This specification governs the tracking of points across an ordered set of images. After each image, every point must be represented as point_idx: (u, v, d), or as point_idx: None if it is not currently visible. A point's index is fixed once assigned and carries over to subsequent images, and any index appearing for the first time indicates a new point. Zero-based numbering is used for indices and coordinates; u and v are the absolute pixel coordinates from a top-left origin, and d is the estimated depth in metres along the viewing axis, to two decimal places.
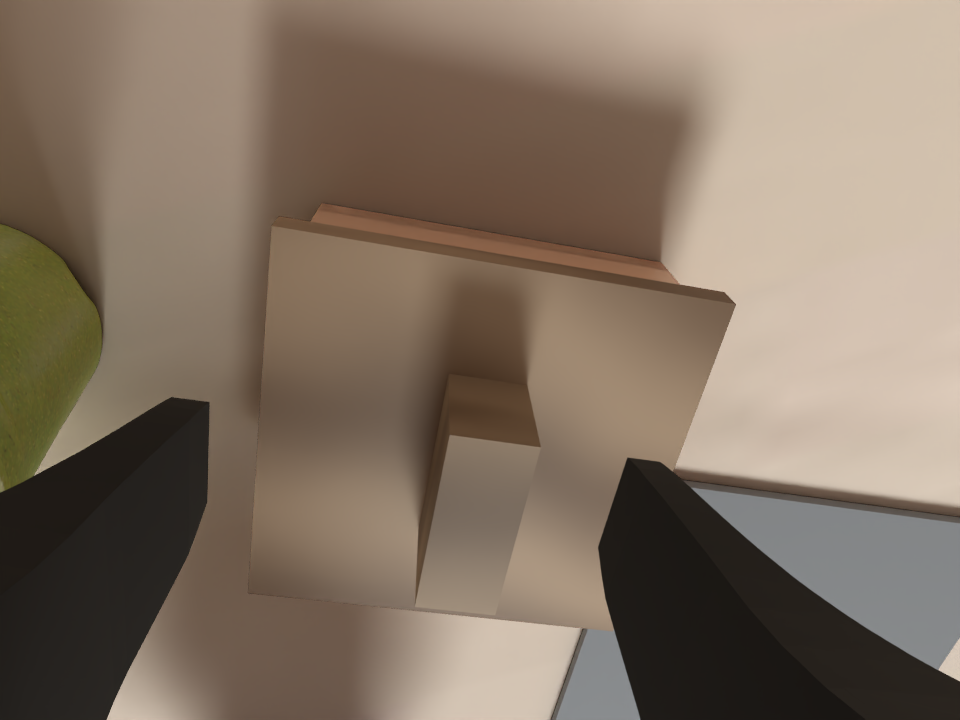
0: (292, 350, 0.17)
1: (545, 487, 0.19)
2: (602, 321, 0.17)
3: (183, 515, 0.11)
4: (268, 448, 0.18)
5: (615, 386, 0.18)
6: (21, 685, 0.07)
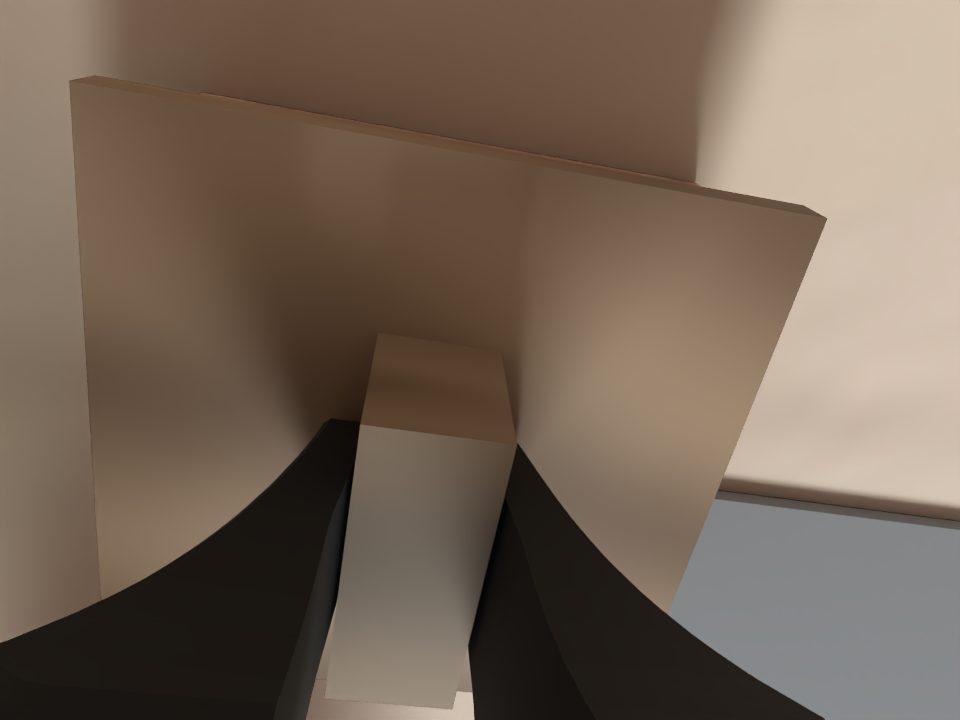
0: (128, 295, 0.11)
1: None
2: (617, 246, 0.11)
3: None
4: (109, 449, 0.12)
5: (636, 352, 0.12)
6: (294, 707, 0.07)
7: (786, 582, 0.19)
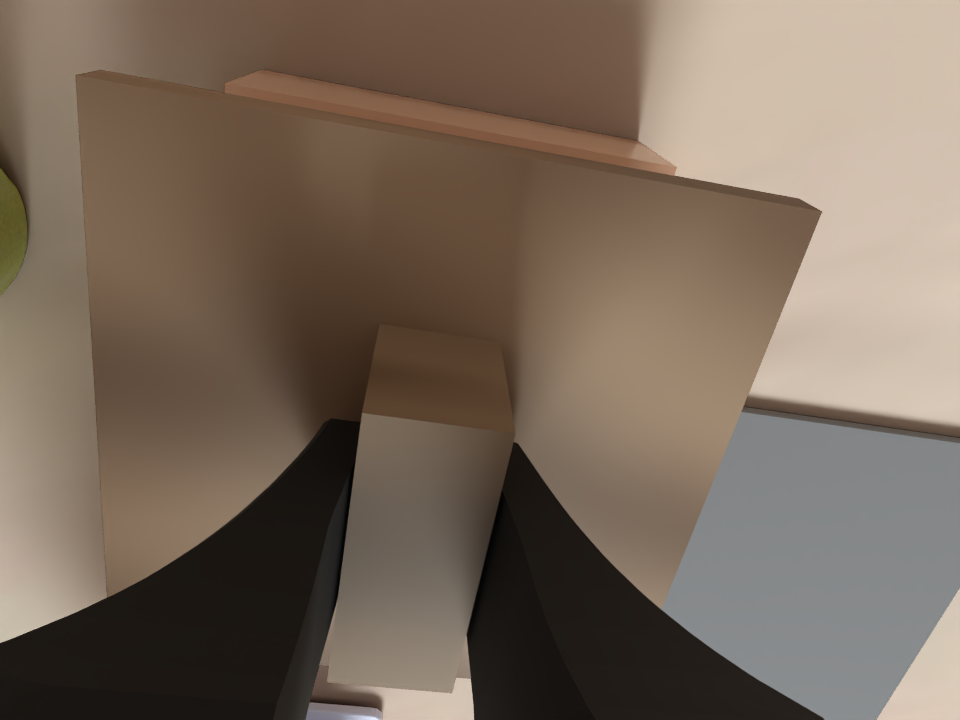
0: (133, 287, 0.11)
1: None
2: (615, 239, 0.11)
3: None
4: (114, 438, 0.12)
5: (633, 343, 0.12)
6: (294, 707, 0.07)
7: (723, 474, 0.24)
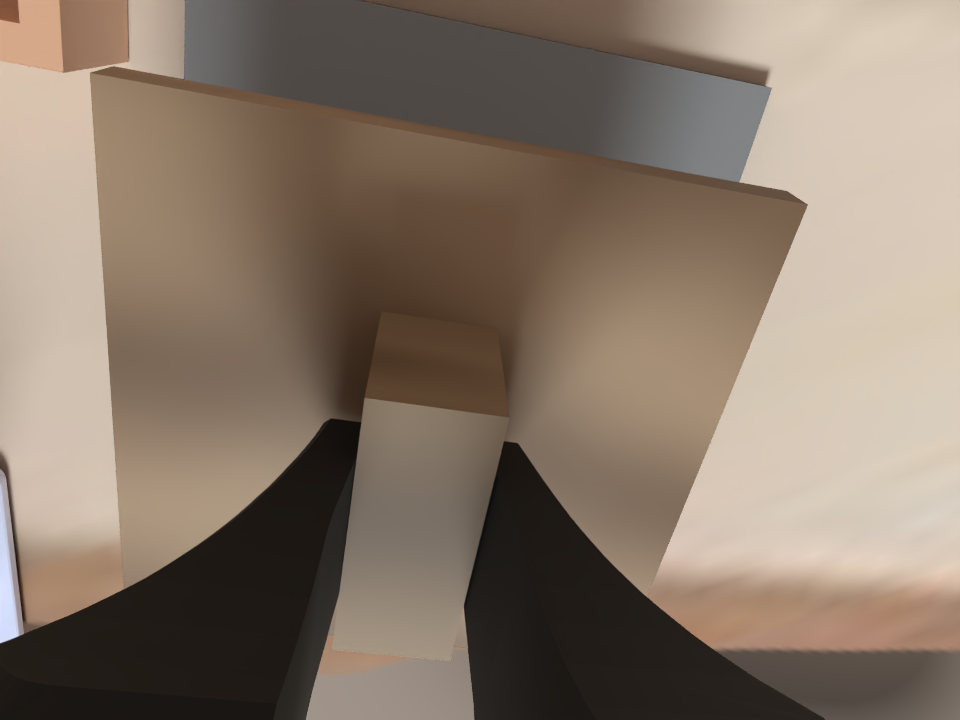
0: (146, 275, 0.12)
1: None
2: (608, 230, 0.12)
3: None
4: (129, 419, 0.13)
5: (625, 330, 0.12)
6: (294, 707, 0.07)
7: (354, 104, 0.18)
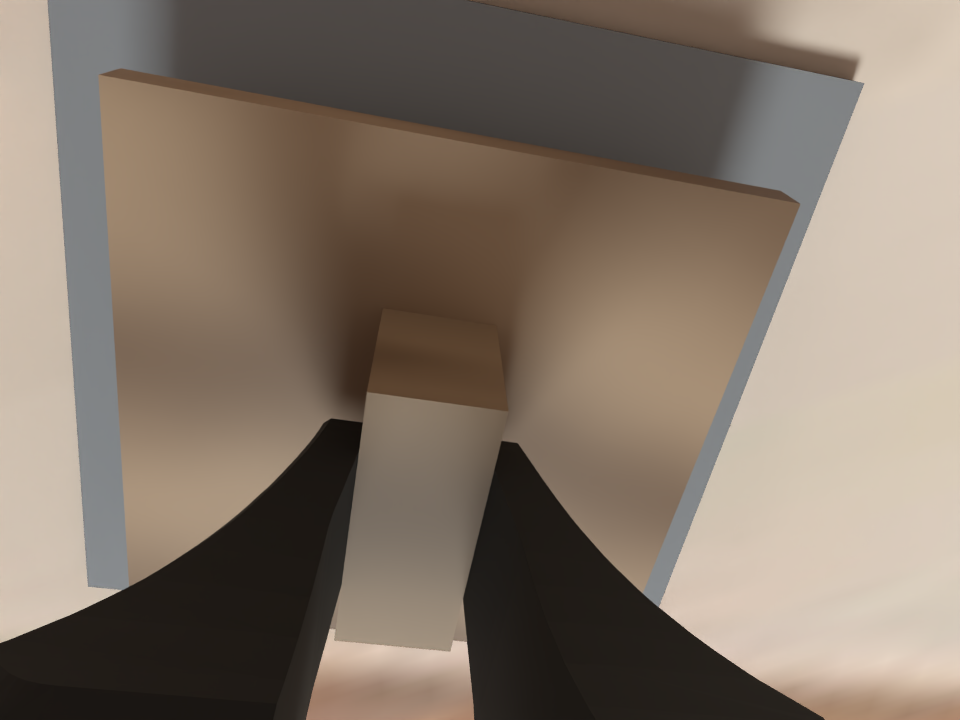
0: (152, 272, 0.12)
1: None
2: (605, 229, 0.12)
3: None
4: (134, 414, 0.13)
5: (622, 327, 0.13)
6: (294, 707, 0.07)
7: None
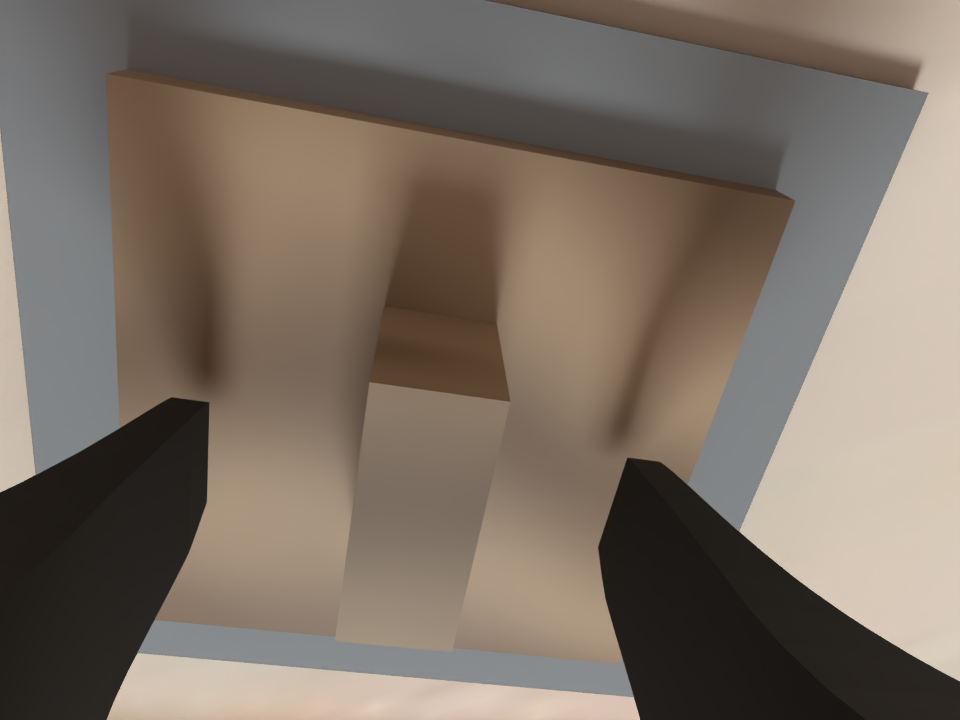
0: (155, 271, 0.12)
1: (525, 471, 0.14)
2: (604, 226, 0.12)
3: (183, 515, 0.11)
4: (135, 416, 0.13)
5: (621, 325, 0.13)
6: (21, 685, 0.07)
7: None
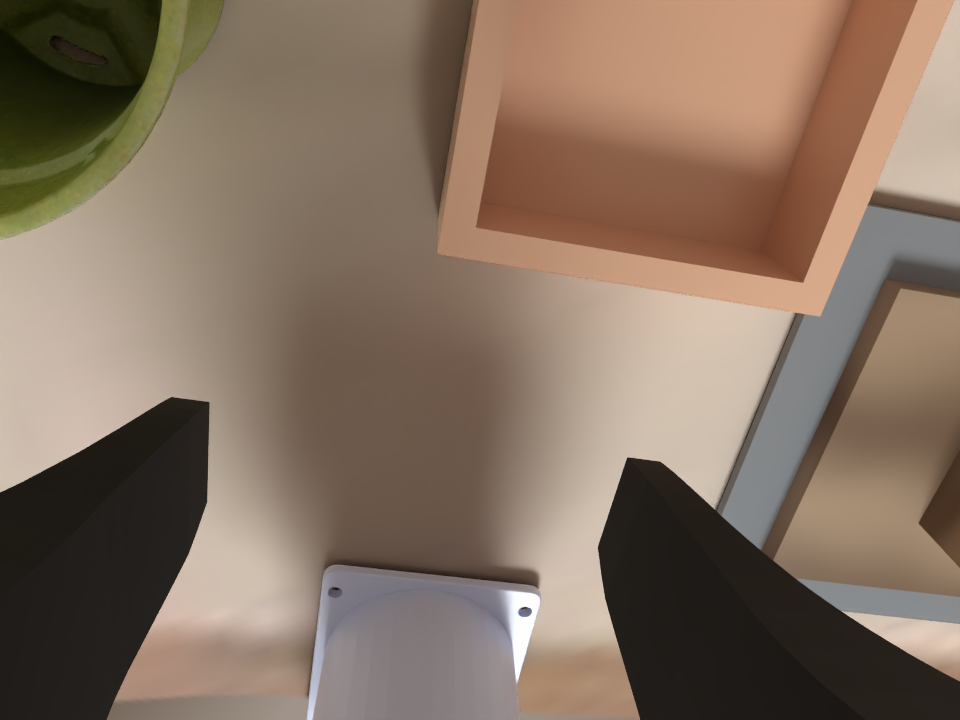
0: (878, 381, 0.22)
1: None
2: None
3: (183, 515, 0.11)
4: (829, 457, 0.23)
5: None
6: (20, 685, 0.07)
7: None
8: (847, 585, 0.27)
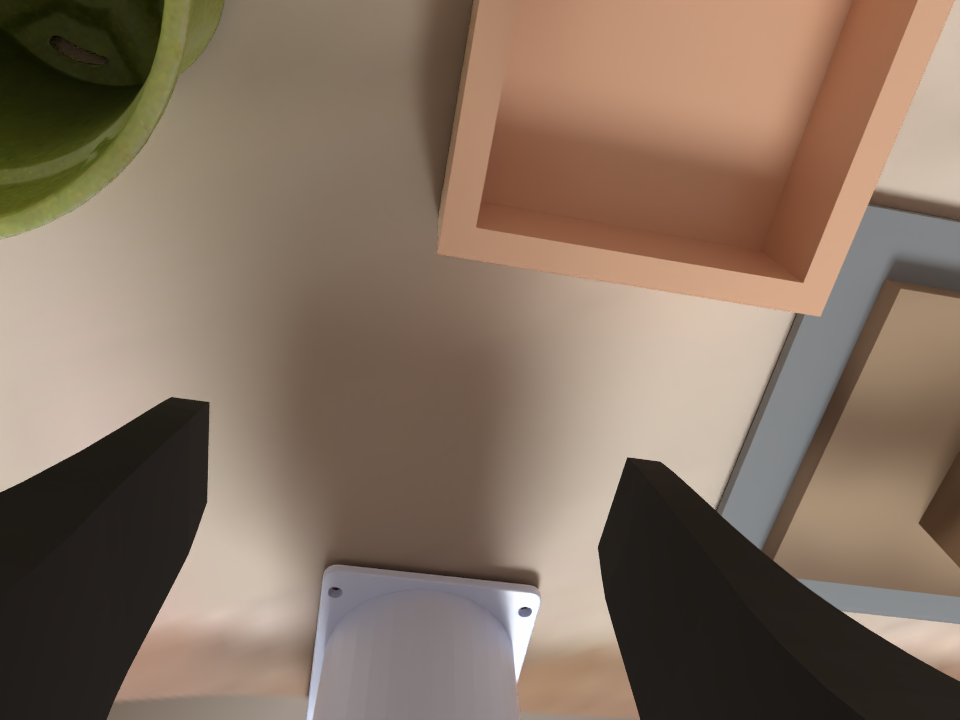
0: (878, 381, 0.22)
1: None
2: None
3: (183, 515, 0.11)
4: (830, 457, 0.23)
5: None
6: (21, 685, 0.07)
7: None
8: (847, 585, 0.27)
